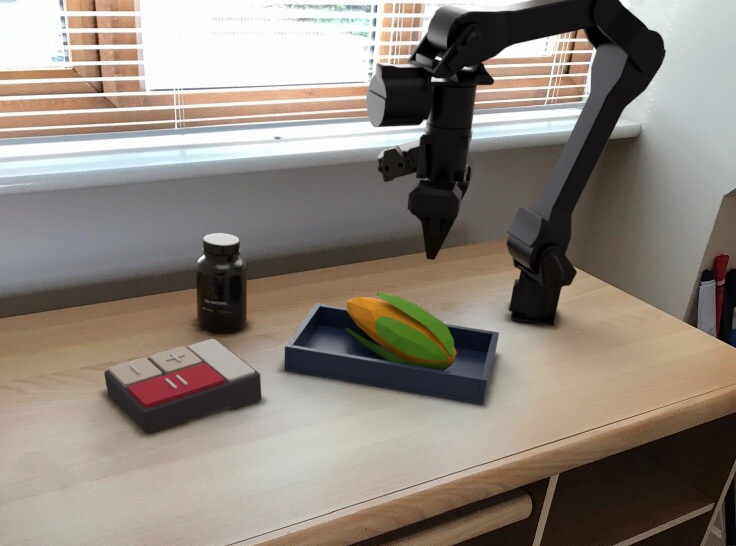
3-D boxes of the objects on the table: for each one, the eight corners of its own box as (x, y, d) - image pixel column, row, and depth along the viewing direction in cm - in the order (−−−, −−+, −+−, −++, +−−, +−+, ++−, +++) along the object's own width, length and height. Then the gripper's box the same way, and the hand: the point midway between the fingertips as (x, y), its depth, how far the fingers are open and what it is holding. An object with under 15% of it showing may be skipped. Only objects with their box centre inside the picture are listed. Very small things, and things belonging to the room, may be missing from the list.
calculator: (101, 365, 99) (215, 332, 106) (107, 397, 101) (217, 363, 108) (143, 406, 92) (261, 368, 99) (148, 439, 94) (263, 400, 102)
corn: (433, 336, 100) (327, 278, 112) (423, 393, 105) (322, 331, 116) (475, 324, 104) (369, 269, 116) (464, 380, 109) (362, 322, 120)
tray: (495, 355, 116) (499, 332, 114) (482, 405, 104) (487, 380, 102) (315, 325, 120) (316, 303, 118) (284, 370, 108) (284, 346, 106)
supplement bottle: (207, 337, 115) (204, 250, 107) (191, 317, 119) (186, 232, 112) (254, 330, 117) (254, 244, 110) (236, 311, 122) (235, 228, 115)
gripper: (398, 102, 114) (389, 219, 123) (370, 134, 99) (363, 264, 109) (480, 110, 112) (465, 228, 122) (465, 144, 98) (449, 275, 107)
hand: (435, 247), depth 115 cm, fingers open, 9 cm apart
